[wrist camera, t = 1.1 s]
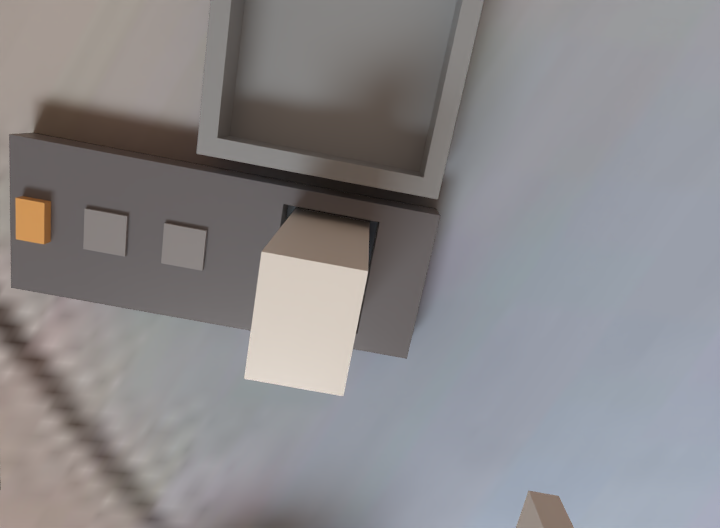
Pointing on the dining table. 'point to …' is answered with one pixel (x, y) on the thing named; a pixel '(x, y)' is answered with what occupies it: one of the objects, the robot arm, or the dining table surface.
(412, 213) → the power strip
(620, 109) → the dining table surface
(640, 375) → the dining table surface
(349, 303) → the block
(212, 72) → the tray
